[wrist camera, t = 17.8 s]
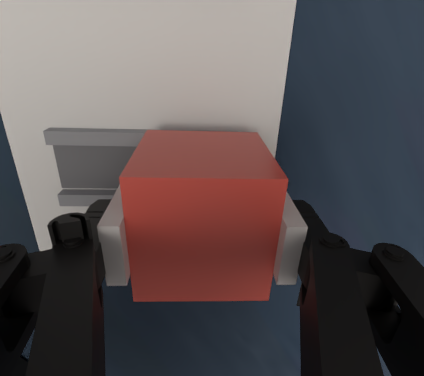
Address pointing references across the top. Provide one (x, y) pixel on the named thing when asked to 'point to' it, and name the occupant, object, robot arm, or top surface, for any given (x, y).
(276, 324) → the top surface
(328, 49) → the top surface
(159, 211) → the brick-red cube
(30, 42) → the panel
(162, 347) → the top surface
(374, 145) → the top surface
